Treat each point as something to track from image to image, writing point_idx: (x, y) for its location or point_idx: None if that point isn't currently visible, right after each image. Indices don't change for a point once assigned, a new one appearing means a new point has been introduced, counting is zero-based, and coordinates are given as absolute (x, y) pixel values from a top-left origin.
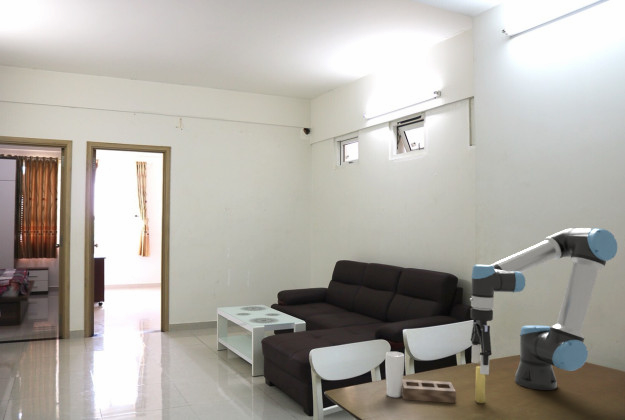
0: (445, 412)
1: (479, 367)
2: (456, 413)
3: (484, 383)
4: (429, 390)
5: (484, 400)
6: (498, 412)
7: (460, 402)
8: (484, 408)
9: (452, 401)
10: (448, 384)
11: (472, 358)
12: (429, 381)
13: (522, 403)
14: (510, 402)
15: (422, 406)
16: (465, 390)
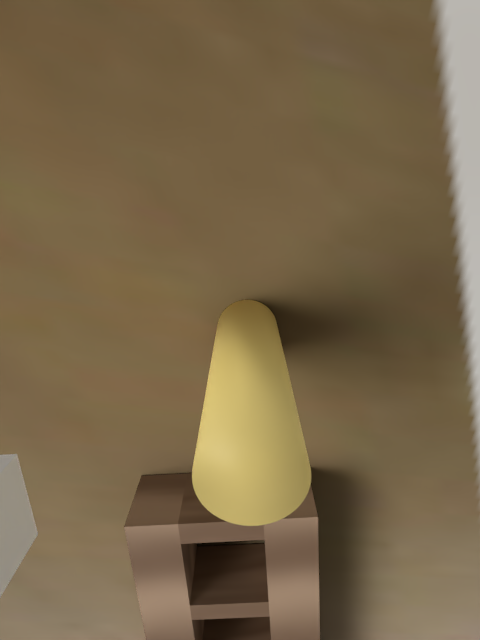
0: (458, 524)
1: (252, 490)
2: (467, 477)
3: (276, 358)
4: (318, 638)
5: (262, 307)
6: (425, 243)
7: None
8: (367, 320)
9: None
10: (181, 543)
11: (7, 577)
12: (159, 634)
13: (202, 3)
14: (206, 107)
15: (389, 609)
16: (56, 387)
